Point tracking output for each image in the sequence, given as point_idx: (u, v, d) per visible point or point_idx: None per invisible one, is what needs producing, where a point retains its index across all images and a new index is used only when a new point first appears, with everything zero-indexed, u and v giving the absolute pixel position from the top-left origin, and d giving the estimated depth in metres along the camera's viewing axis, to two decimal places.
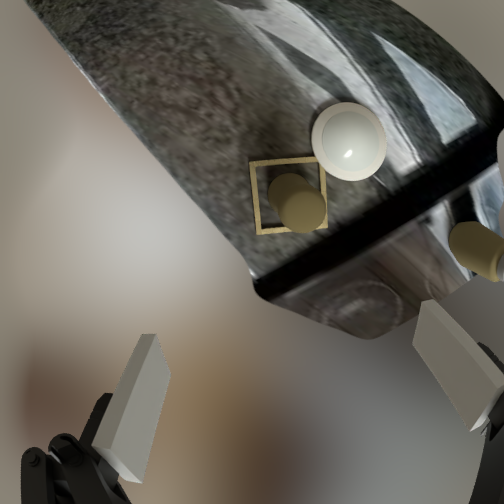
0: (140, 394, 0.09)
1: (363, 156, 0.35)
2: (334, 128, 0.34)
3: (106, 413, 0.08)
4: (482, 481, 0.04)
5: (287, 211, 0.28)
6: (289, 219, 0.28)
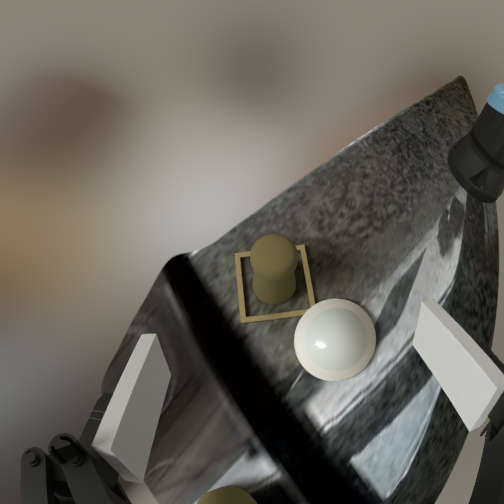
0: (140, 394, 0.09)
1: (322, 354, 0.34)
2: (346, 319, 0.35)
3: (106, 413, 0.08)
4: (482, 481, 0.04)
5: (273, 236, 0.30)
6: (265, 238, 0.30)
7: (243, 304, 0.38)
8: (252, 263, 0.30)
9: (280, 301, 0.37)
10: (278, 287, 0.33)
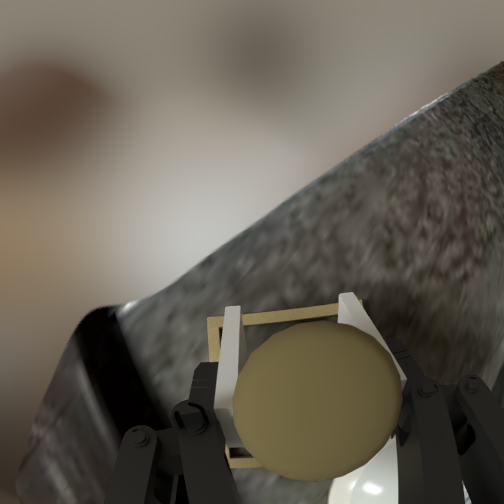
0: (240, 358, 0.11)
1: None
2: None
3: (219, 376, 0.09)
4: (404, 490, 0.05)
5: (326, 342, 0.07)
6: (296, 351, 0.07)
7: None
8: (240, 435, 0.07)
9: None
10: None
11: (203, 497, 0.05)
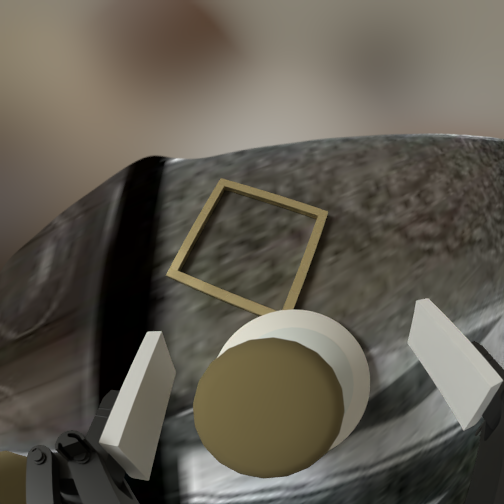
0: (146, 391, 0.10)
1: None
2: (329, 364, 0.18)
3: (113, 410, 0.08)
4: (477, 481, 0.04)
5: (268, 359, 0.08)
6: (241, 365, 0.08)
7: (186, 250, 0.22)
8: (198, 433, 0.08)
9: None
10: None
11: None
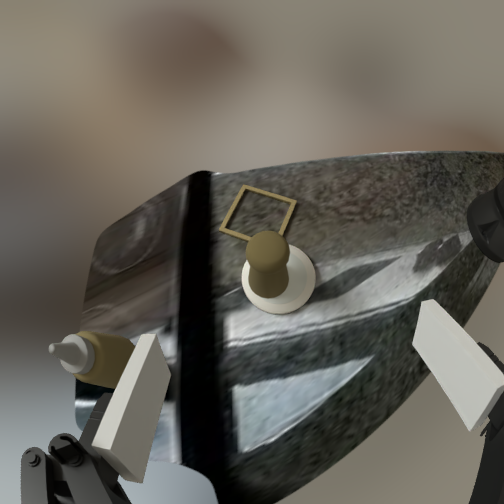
0: (140, 394, 0.09)
1: None
2: (295, 266, 0.43)
3: (106, 413, 0.08)
4: (482, 481, 0.04)
5: (267, 233, 0.33)
6: (260, 234, 0.33)
7: (228, 219, 0.47)
8: (247, 257, 0.33)
9: (274, 295, 0.40)
10: (271, 280, 0.36)
11: None
